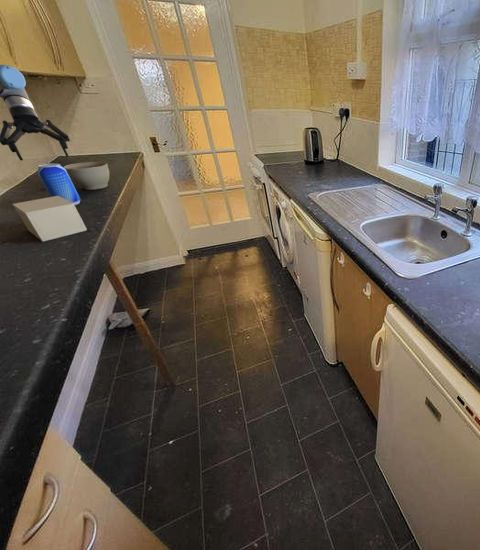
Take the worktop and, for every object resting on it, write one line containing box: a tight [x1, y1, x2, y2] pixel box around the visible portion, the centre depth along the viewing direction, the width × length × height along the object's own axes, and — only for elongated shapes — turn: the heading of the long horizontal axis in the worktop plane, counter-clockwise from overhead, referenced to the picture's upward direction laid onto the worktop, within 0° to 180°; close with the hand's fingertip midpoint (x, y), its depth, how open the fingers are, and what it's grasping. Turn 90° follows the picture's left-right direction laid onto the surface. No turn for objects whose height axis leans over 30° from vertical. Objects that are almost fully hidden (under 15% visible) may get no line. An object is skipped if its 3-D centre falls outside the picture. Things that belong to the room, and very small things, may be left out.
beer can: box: [36, 163, 81, 206], centre depth 121 cm, size 8×8×16 cm
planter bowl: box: [63, 161, 110, 191], centre depth 145 cm, size 16×16×11 cm
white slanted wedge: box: [12, 196, 88, 242], centre depth 99 cm, size 15×12×10 cm
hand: (44, 156), depth 119 cm, fingers open, 13 cm apart
